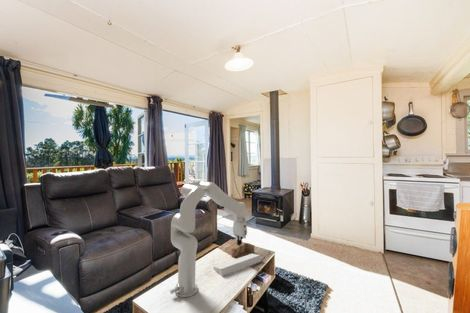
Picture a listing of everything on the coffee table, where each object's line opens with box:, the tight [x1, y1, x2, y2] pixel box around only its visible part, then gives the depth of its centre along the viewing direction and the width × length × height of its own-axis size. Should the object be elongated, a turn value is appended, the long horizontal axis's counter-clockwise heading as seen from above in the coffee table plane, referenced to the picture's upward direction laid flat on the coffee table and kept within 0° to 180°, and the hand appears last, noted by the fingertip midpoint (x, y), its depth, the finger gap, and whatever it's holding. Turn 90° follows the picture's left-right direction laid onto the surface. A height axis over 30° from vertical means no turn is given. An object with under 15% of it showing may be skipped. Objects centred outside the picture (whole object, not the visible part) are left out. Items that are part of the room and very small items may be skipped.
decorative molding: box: [213, 253, 262, 277], centre depth 149 cm, size 34×5×10 cm
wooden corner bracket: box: [231, 242, 255, 258], centre depth 165 cm, size 17×9×6 cm, turn 139°
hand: (239, 244), depth 152 cm, fingers closed
